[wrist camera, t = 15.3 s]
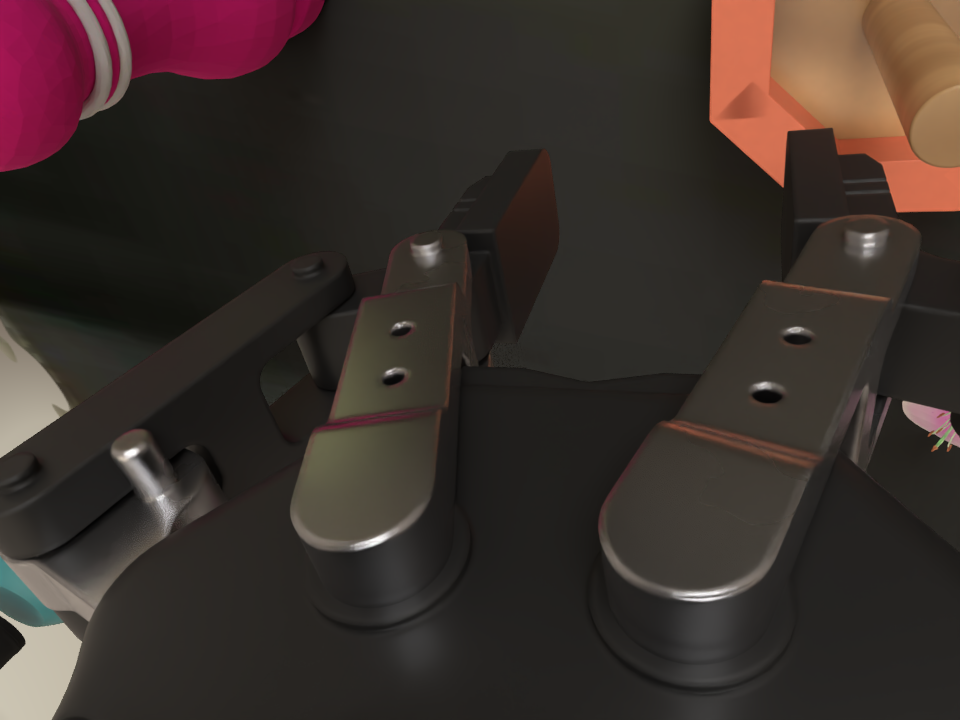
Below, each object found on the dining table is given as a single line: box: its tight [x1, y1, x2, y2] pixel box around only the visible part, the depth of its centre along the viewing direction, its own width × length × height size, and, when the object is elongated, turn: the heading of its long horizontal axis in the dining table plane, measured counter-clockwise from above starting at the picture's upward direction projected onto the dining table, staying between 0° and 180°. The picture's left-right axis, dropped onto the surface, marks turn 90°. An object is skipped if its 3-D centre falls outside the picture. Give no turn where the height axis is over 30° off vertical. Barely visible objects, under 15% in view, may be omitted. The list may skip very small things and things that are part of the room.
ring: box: [710, 0, 960, 212], centre depth 24 cm, size 13×13×2 cm
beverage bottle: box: [0, 556, 64, 669], centre depth 48 cm, size 6×7×20 cm
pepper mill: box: [0, 0, 325, 172], centre depth 24 cm, size 7×7×20 cm
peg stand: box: [770, 0, 960, 168], centre depth 21 cm, size 9×9×12 cm
